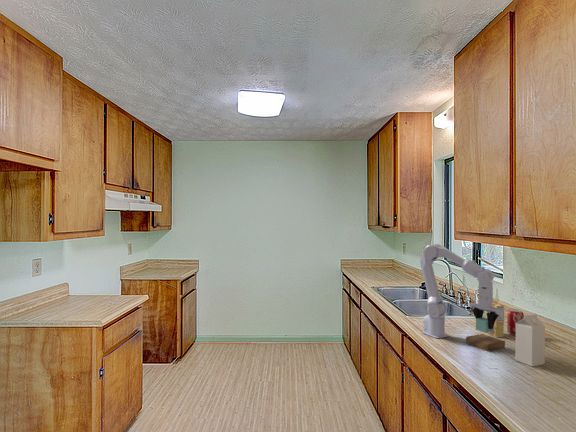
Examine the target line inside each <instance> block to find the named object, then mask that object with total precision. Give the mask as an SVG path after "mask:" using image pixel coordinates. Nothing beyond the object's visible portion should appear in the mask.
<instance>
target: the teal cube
mask: <svg viewBox="0 0 576 432" xmlns="http://www.w3.org/2000/svg"><path fill="white" fill-rule="evenodd" d="M475 330H477V331H479V332H483V333H485V334H486V333H487V332H493V331H494V326H493V329H489V328H488V318H485V317H484V316H483V317H482V318H475ZM487 334H488V333H487Z"/></svg>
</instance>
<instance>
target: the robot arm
mask: <svg viewBox="0 0 576 432" xmlns="http://www.w3.org/2000/svg"><path fill="white" fill-rule="evenodd" d="M438 258H445V259H447V260H449V261H451V262H453V263H455V264H456V265H459V266H460V267H461V270H462V271H464V272H465V273H467V274H469V275H470V276H471V277H473V278H475V279H476V280H477V281H478V290H477V291H478V295H477V297H478V298H477V299H478V301H477V303H475V302H470V303H469V308H471V311H472V313H473V315H474V318H475V319H476V318H483V317H484V316H483V315H484V312H485V315H486V314H487V318H488V328H489V329H493V326H494V323H495V321H496V319H497V317H498V316H499V315H501V314H502V310H500V309H497V308H494V307H493V302H494V300H493V299H494V296H493V295H494V292H493V291H494V290H493V289H494V287H493V283H494V282H493V281H494V279H495V274H494V272H493V271H492V270H491V269H489V268H486V267H485V266H482V265H479V264H478V263H476V261H475V260H474V259H472V260H471V259H468V260H466V259H464V258H462V257H460V256H459V255H457V254H456V253H455V252H453V251H452V250H449V249H448V248H447V247H446V246H443V245H440V244H439V243H435V244H428V245H426V246H425V247H424V248H423V250H422V253H421V256H420V261H419V262H420V263H419V264H420V268H421V273H422V276H423V280H424V281H423V282H424V283H425V284H424V285H425V290H426V294H427V297H428V298H427V302H426V305H427V310H426V312H427V314H426V315H425V316H424V318H423V331H422V332H421V333H423V334H424V335H427V336H429V337H432V338H435V339H442V338H447V337H449V334H446V333H445V331H446V330H445V325H446V321H445V319H446V316H445V313H446V312H447V306H446V304H445V302H444V301H443V298H442V296H440V292H439V287H438V285H437V284H438V283H437V279H436V276H435V271H434V266H433V264H434V262H435V261H436V259H438ZM486 311H488V312H490V313H486Z"/></svg>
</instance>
